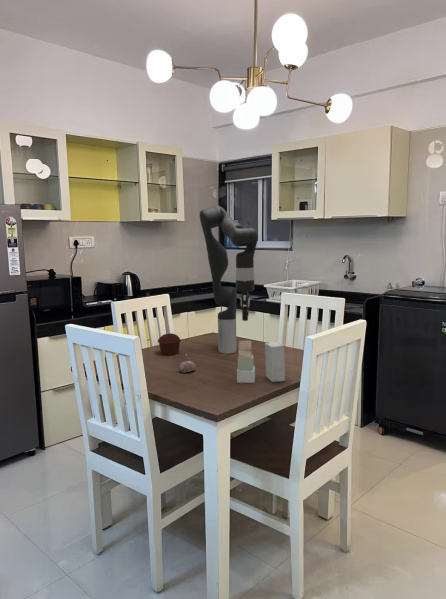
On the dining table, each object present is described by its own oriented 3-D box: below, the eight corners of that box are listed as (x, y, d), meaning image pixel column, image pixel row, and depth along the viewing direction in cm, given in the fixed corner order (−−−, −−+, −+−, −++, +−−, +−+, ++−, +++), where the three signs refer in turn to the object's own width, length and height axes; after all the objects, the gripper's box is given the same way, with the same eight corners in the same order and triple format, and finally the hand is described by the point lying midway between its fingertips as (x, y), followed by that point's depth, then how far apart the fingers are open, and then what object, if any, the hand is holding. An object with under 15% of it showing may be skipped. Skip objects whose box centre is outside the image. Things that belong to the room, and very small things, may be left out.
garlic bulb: (180, 374, 195) (179, 356, 194) (178, 369, 202) (177, 352, 201) (197, 373, 197) (196, 355, 196) (195, 368, 204) (194, 351, 203)
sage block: (239, 365, 189) (239, 354, 189) (253, 366, 189) (253, 354, 188) (237, 370, 184) (237, 358, 183) (252, 370, 183) (252, 358, 182)
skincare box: (285, 381, 184) (285, 345, 182) (271, 382, 183) (271, 346, 180) (278, 375, 192) (278, 340, 190) (264, 376, 191) (264, 341, 188)
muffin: (182, 350, 235) (181, 331, 234) (180, 356, 224) (180, 336, 223) (159, 350, 235) (158, 332, 233) (156, 356, 224) (156, 337, 222)
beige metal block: (239, 354, 188) (239, 340, 187) (251, 355, 187) (251, 340, 186) (238, 358, 183) (238, 343, 182) (251, 358, 182) (250, 343, 181)
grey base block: (238, 377, 190) (238, 365, 190) (255, 377, 190) (254, 366, 189) (237, 382, 183) (236, 370, 183) (254, 383, 183) (254, 371, 182)
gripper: (236, 276, 189) (237, 314, 192) (234, 281, 175) (235, 322, 178) (254, 276, 188) (254, 314, 191) (254, 280, 174) (254, 322, 177)
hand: (245, 318), depth 184 cm, fingers open, 8 cm apart
